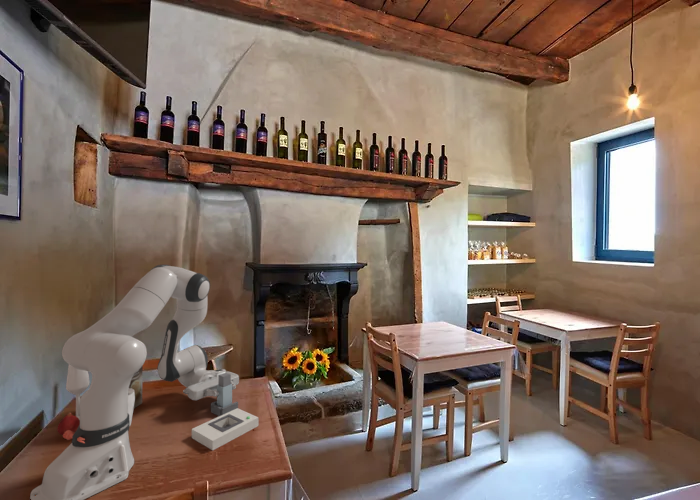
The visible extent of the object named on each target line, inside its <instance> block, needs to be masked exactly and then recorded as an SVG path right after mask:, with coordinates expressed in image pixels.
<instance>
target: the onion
mask: <svg viewBox="0 0 700 500" xmlns="http://www.w3.org/2000/svg"><path fill="white" fill-rule="evenodd" d="M79 425H80V420H79V418H78V417H76V415H74V414H72V412H68V413H67V414H66V415H65V416H64V417H63V418H62V419H61V420H60V421H59V423H58V425H57V428H56V430H57V433H58V434H59V435H61V437H63V434H64V433H65V432H66V431H67V430H71V431H72V432H74V433H75V432H76V430H77V428H78V426H79Z"/></svg>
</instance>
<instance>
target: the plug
mask: <svg viewBox="0 0 700 500" xmlns="http://www.w3.org/2000/svg"><path fill="white" fill-rule="evenodd" d="M217 391H219V393H218V394H219V395H218V396H216V401H217V405H218V406H220V407H222V408H223V407H225V406H228V405H230V404H232V403H233V390H232V384H231V374H228V373H223V374H220V375H219V381H218V385H217Z"/></svg>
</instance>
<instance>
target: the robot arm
mask: <svg viewBox="0 0 700 500" xmlns="http://www.w3.org/2000/svg"><path fill="white" fill-rule="evenodd" d="M210 289H211V281H210V280H209V278H208V277H207V276H206V275H205V274H202V273H200V272H196V271H192V270H189V269H186V268H183V267H180V266H173V265H172V266H171V265H169V264H158V265H155V266H154V267H152V268H151V269H150V271H148V272H147V273H145V275H144V276H142V277H141V278H140V279H139V280H138V281H137V282H136V283H135V284H134V285H133V286H132V288H131V289H130V290H129V291H128V292H127V294H125V296H124V297H123V298H122V299H121V300H120V301H119V302H118V304H117V305H116V306H115V307H113V309H112V310H111V311H109V312H108V313H106V315H104V316H103V317H101V318H100V319H99V320H98V321H96V322H95V323H94V324H92V325H91V326H89V327H87V328H86V329H85V330H83V331H80V332H78V333H75V334H73V335H72V336H70V337H69V338H68V339H67V340H66V341H65V342H64V345H63V347H62V350H61V356H62V359H63V360H64V362H65V363H66V364H68V366H69V365H71V366H73V367H74V368H76V369H79V370H84V371H88V373H91V381H90V384H89V386H88V387H89V388H88V389H86V390H85V391H84V392H83V393H82V395H80V425H79V426H78V428H77V430H76V432H75V433H74V432H72V431H71V430H67V431H66V432H65V433H64V434H63V436H62V438H64V439H66V440H67V441H70V440H71V443H70V444H69V445H68V446H67V447H66V448H65V449H64V450H63V451H62V452H61V453H60V454H59V455H58V456H57V457H56V458H55V459H53V461H51V463H49V465H48V466H47V468H46V469H45V471H44V474H43V477H42V482H41V484H40V485H38V486H36V487H35V488H33V489H32V490H31V492H30V497H29V500H30V499H31V500H86V499H87V498H91V497H92V496H94V495H96V494H98V493H100V492H103V491H105V490H106V489H109V488H110V487H112V486H114V485H117V484H118V483H121V482H123V481H125V480H127V478H128V477H129V473H130V470H131V468H132V467H133V466H134V464H135V458H134V455H133V453H132V450H131V444H130V439H129V432H130V427H131V425H130V421H129V414H128V390H129V385H130V382H131V379H132V377H133V375H134V373H135V372H136V371H138V370H139V369H140V368H141V367H142V365H144V364H145V361H146V359H147V355H148V353H147V351H148V349H147V346H146V344H145V343H144V342H142V341H141V340H139V339H137V338H135V337H134V336H135V335H137V334H138V333H140V332H143V331H145V330H147V328H149V327H150V326H152V324H153V322H154V321H155V320H156V319H157V317H158V316H159V315H160V313H161V311H162V310H163V309H164V308H165V306H166V305H167V303H168V302H169V300H170V298H172V299H176V310H175V312H174V315H173V317H172V318H171V320H169V322H168V324H167V326H166V330H165V334H164V339H163V344H162V350H161V355H160V359H159V360H158V361H159V362H158V363H157V373H158V376H159V378H160V380H163V381H166V382H171V383H173V382H175V381H176V380H178V382H179V383H180V384H181V385H183V386H184V387H185V388H184V389H183V390H182V392H183V393H184V395H187V397H188V398H189V399H190V400H192V401H198V400H201V399H204V398H206V397H216V398H217V396H218V395H219V394H218V393H219V391H217V385H218V381H219V375H220V374H223V373H228V374H231V384H232V391H233V390H235V389H236V388H237V385H239V383H240V376H239V374H237V373H234V372H232V371H227V370H226V369H225V368H220V369H215V370H213V369H211V370H209V369H208V370H207V368H208V361H209V357H208V354H207V353H208V352H207V351H206V350H205V349H204V348H203V347H201V346H200V345H199V344H198V345H197V344H194V345H191V346H189V347H186V348H184V349H182V350H180V351H178V350H179V346H180V345H179V344H180V341H181V339H182V338H183V337H184V336H185V335H186V334H187V333H189V332H190V331H191V330H192V329H194V328H195V327H197V326H199V325H200V324H202V322H203V321H204V320H205V318H206V316H207V314H208V306H209V305H208V301H209V299H208V295H209V293H210ZM35 495H36V496H35Z"/></svg>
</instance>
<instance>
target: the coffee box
mask: <svg viewBox="0 0 700 500" xmlns="http://www.w3.org/2000/svg"><path fill="white" fill-rule="evenodd" d="M143 365H144V364H143ZM143 365H142V367H141V368H140V369H139V370H138V371H136V372H135V373H134V375H133V377H132V379H131V382H130V385H129V388H132V389H134V393H135V402H134V408H133V410H134V409H135V408H137V407H138V406H140V405H142V404H143V367H144V366H143Z"/></svg>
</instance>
